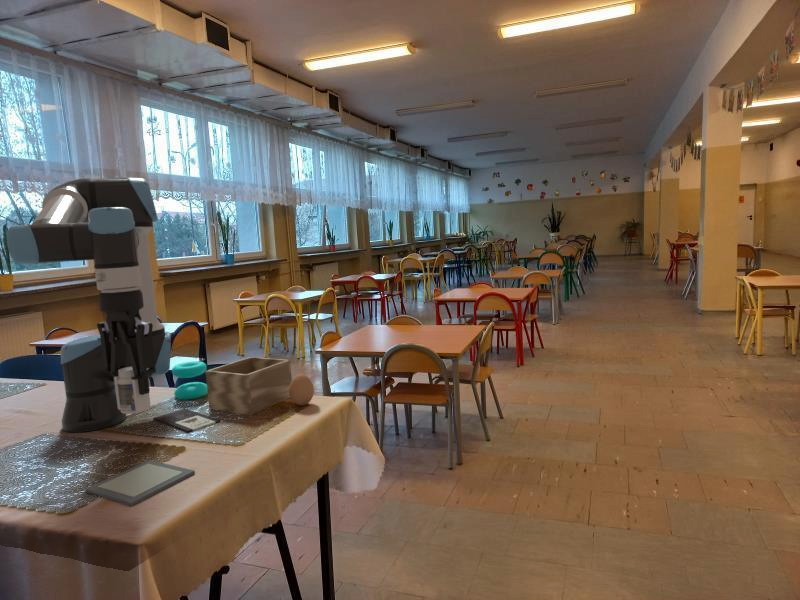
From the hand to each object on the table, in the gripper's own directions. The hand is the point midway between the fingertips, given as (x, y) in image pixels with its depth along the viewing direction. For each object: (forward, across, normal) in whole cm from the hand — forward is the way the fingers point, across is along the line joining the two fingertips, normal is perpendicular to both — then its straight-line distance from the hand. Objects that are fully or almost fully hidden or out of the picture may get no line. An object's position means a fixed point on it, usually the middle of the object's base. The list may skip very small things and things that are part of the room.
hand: (134, 408), depth 104 cm
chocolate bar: (+15, -22, +29) cm, 39 cm away
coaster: (+15, 0, 0) cm, 15 cm away
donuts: (+15, -40, +46) cm, 63 cm away
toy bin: (+15, -16, +47) cm, 52 cm away
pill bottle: (+1, 0, 0) cm, 1 cm away
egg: (+15, 0, +50) cm, 52 cm away
